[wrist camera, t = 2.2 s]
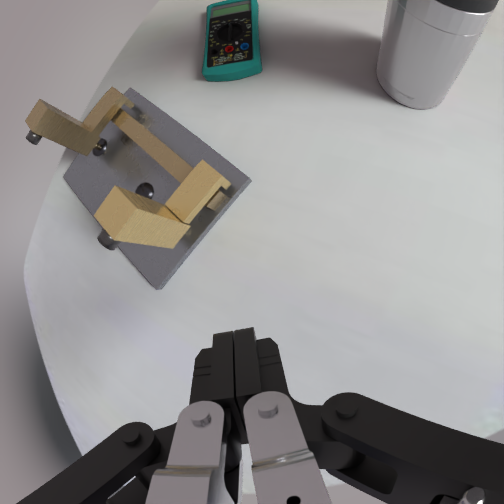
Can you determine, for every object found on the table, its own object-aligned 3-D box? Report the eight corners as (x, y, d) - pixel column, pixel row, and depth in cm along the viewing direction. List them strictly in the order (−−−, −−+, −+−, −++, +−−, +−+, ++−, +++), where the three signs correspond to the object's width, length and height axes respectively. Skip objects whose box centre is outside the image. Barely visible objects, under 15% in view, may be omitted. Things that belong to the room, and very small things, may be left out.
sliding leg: (214, 169, 33) (162, 125, 22) (233, 186, 33) (187, 145, 21) (155, 241, 34) (84, 229, 23) (172, 259, 34) (104, 254, 22)
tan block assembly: (124, 96, 38) (69, 53, 26) (236, 185, 33) (189, 142, 21) (79, 155, 39) (16, 127, 27) (174, 259, 34) (104, 254, 22)
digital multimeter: (207, 87, 37) (199, 75, 34) (211, 14, 38) (205, 2, 35) (263, 78, 35) (258, 65, 32) (259, 5, 36) (255, -8, 33)
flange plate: (134, 91, 39) (129, 87, 37) (251, 180, 34) (249, 177, 33) (68, 178, 40) (62, 176, 39) (161, 289, 36) (155, 289, 35)
